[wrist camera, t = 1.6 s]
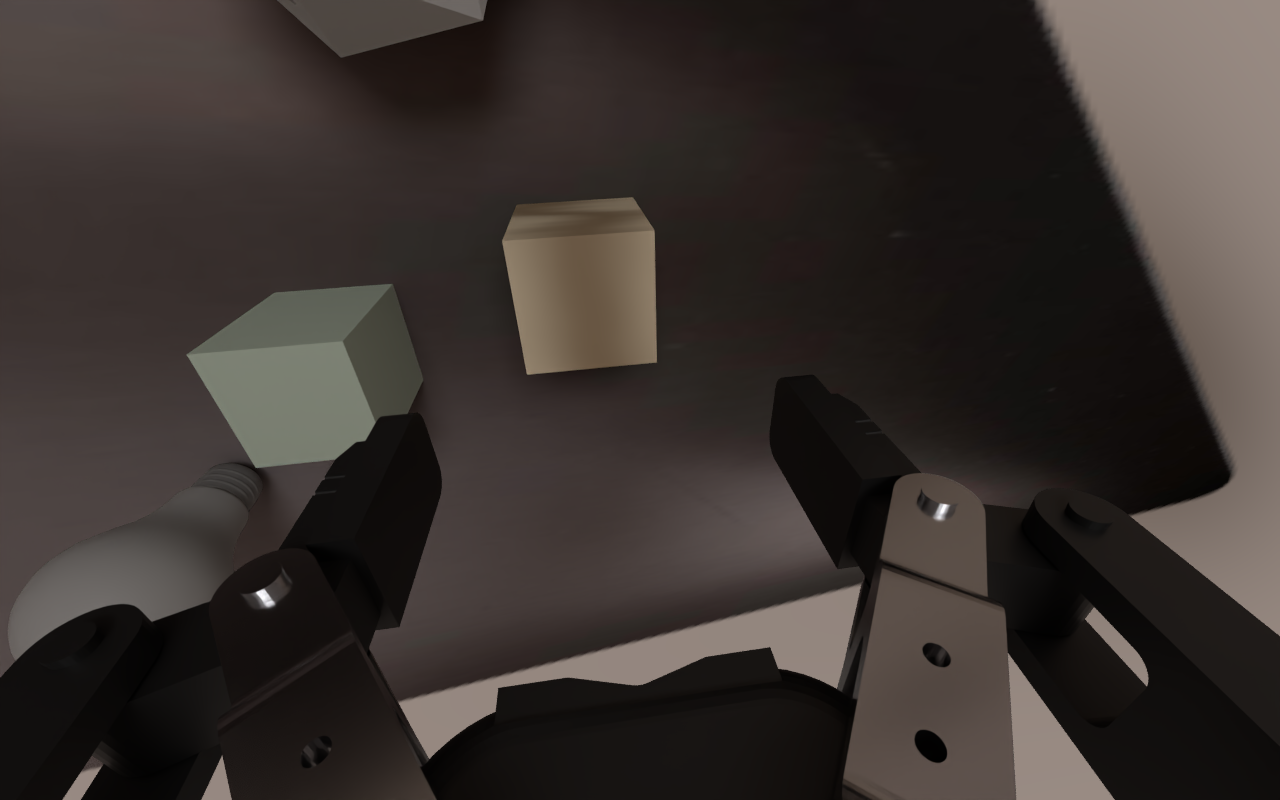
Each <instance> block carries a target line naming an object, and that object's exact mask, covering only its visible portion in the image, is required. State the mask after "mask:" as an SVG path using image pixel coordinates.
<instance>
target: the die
mask: <svg viewBox="0 0 1280 800" xmlns="http://www.w3.org/2000/svg"><path fill="white" fill-rule="evenodd" d="M277 1H278V2H279V3H281V4H282V5H283V6H284V7H285V8H286V9H287V10H288V11H289V12H291V13H292V14H293V15H294V16H295V17H296V18H297V19H298V20H300V21H301V22H302V23H303V24H304V25H305V26H306V27H307V28H308V29H310V30H311V31H312V32H313V33H314V34H315V35H316V36H317V37H318V38H320V39H321V40H322V41H323V42H324V43H325V44H326V45H327V46H329V47H330V48H331V49H332V50H333V51H334V52H335V53H336V54H337V55H339V56H340V57H341V58H342V57H346V56H350V55H354V54H357V53H361V52H365V51H369V50H373V49H376V48H380V47H384V46H388V45H392V44H395V43H399V42H403V41H407V40H411V39H415V38H418V37H422V36H426V35H430V34H434V33H437V32H441V31H445V30H449V29H453V28H456V27H460V26H464V25H468V24H472V23H476V22H479V21H483V18H484V13H485V9H486V4H487V0H277Z"/></svg>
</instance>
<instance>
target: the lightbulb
mask: <svg viewBox="0 0 1280 800" xmlns="http://www.w3.org/2000/svg"><path fill="white" fill-rule="evenodd" d="M262 490H263V483H262V481H261V478H260V477H259V475H258V474H257V473H256V472H255V471H253V470H252V469H250V468H248V467H246V466H243V465H240V464H234V463H225V464H219V465H216V466H214V467H212V468H211V469H210V470H209V471H207V472H206V473H205V474H204V475H203V476H202V477H201V478H199V479H198V481H197V482H196V483H194V484H193V485H192V486H191V487H190V488H187V489H184V490H182V491H180V492H179V493H177V494H176V495H175V496H174V497H172V498H171V499H170V500H169V501H168V502H167V503H166V504H165V505H163V506H162V507H161V508H159V509H158V510H156V511H155V512H153V513H152V514H150V515H148V516H146V517H143V518H141V519H139V520H137V521H135V522H132V523H129V524H126V525H123V526H119V527H117V528H114V529H111V530H109V531H106V532H104V533H101V534H99V535H96V536H93V537H91V538H88V539H86V540H83V541H81V542H78V543H77V544H75V545H73V546H72V547H70V548H68V549H67V550H65V551H64V552H62V553H60V554H59V555H57V556H56V557H54V558H53V559H51V560H50V561H48V562H47V563H46V564H45V565H44V566H43V567H42V568H41V569H39V570H38V571H37V572H36V573H35V574H34V575H33V577H32V578H31V579H30V581H29V582H28V583H27V585H26V586H25V587H24V589H23V590H22V592H21V593H20V594H19V596H18V597H17V600H16V602H15V604H14V606H13V608H12V610H11V613H10V618H9V625H8V640H9V645H10V650H11V654H12V656H13V657H14V659H15V660H17V659H18V658H19V657H20V656H21V655H22V654H23V653H24V652H25V651H26V650H27V649H29V648H30V647H31V646H32V645H33V644H34V643H36V642H37V641H38V640H40V639H41V638H42V637H44V636H45V635H46V634H48V633H49V632H51V631H52V630H54V629H56V628H57V627H59V626H61V625H62V624H64V623H66V622H68V621H69V620H71V619H74V618H76V617H78V616H80V615H82V614H84V613H87V612H89V611H92V610H95V609H98V608H101V607H105V606H109V605H115V604H130V605H134V606H136V607H137V608H139V609H140V610H141V611H142V612H143V613H144V614H145V615H146V616H147V617H148V618H149V619H150V620H151V621H155V620H158V619H161V618H164V617H166V616H169V615H172V614H175V613H178V612H181V611H183V610H186V609H189V608H192V607H195V606H198V605H200V604H203V603H206V602H209V601H211V599H212V597H213V595H214V593H215V592H216V590H217V589H218V588H219V586H220V585H221V584H222V583H223V582H224V581H225V580H226V579H227V578H228V577H229V576H230V575H231V574H233V573H234V564H233V555H234V549H235V545H236V543H237V540H238V538H239V535H240V534H241V532H242V530H243V529H244V527H245V525H246V524H247V521H248V517H249V513H248V512H249V510H250V509H251V508H252V507H253V505H254V503H255V502H256V501H257V499H258V497H259V495H260V493H261V492H262Z"/></svg>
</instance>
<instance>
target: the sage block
mask: <svg viewBox="0 0 1280 800" xmlns="http://www.w3.org/2000/svg"><path fill="white" fill-rule="evenodd" d="M187 356H188V358H189V359H190V361H191V362H192V364H193V366H194V367H195V369H196V371H197V372H198V374H199V376H200V377H201V379H202V381H203V382H204V384H205V385H206V387H207V389H208V390H209V392H210V394H211V395H212V397H213V399H214V400H215V402H216V403H217V405H218V407H219V408H220V410H221V412H222V413H223V415H224V417H225V418H226V420H227V422H228V423H229V425H230V426H231V428H232V430H233V431H234V433H235V435H236V436H237V438H238V440H239V441H240V443H241V445H242V446H243V448H244V449H245V451H246V453H247V454H248V456H249V458H250V459H251V461H252V463H253V464H254V466H255V467H256V468H260V467H270V466H279V465H288V464H298V463H307V462H316V461H325V460H335V459H336V458H337V457H339V456H340V455H341V454H342V453H343V452H345V451H346V450H347V449H348V448H349V447H351V446H352V445H353V444H354V443H356V442H360V441H365V440H366V439H367V437H368V435H369V433H370V432H371V430H372V428H373V427H374V425H375V423H376V421H377V420H378V418H380V417H381V416H389V415H399V414H407V413H408V411H409V409H410V407H411V405H412V403H413V401H414V399H415V397H416V395H417V392H418V390H419V388H420V386H421V384H422V382H423V377H422V373H421V370H420V367H419V364H418V361H417V358H416V355H415V352H414V349H413V345H412V342H411V339H410V336H409V333H408V330H407V327H406V324H405V321H404V317H403V314H402V311H401V308H400V305H399V302H398V299H397V296H396V292H395V289H394V286H393V284H384V285H371V286H358V287H345V288H331V289H318V290H305V291H292V292H279V293H273V294H272V295H271V296H269V297H268V298H266V299H265V300H264V301H262V302H261V303H259V304H258V305H256V306H255V307H254V308H252V309H251V310H249V311H248V312H247V313H245V314H244V315H242V316H241V317H239V318H238V319H237V320H235V321H234V322H232V323H231V324H229V325H228V326H227V327H225V328H224V329H222V330H221V331H220V332H218V333H217V334H215V335H214V336H212V337H211V338H210V339H208V340H207V341H205V342H204V343H203V344H201V345H200V346H198V347H197V348H195V349H194V350H193V351H191V352H190V353H188V354H187Z"/></svg>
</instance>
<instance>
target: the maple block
mask: <svg viewBox="0 0 1280 800" xmlns="http://www.w3.org/2000/svg"><path fill="white" fill-rule="evenodd" d="M502 242H503V248H504V253H505V258H506V264H507V269H508V275H509V280H510V285H511V291H512V296H513V302H514V307H515V312H516V318H517V323H518V328H519V334H520V339H521V345H522V350H523V355H524V361H525V366H526V371H527V375H529V374H539V373H550V372H560V371H571V370H581V369H592V368H602V367H613V366H623V365H634V364H644V363H655V362H657V347H656V291H655V234H654V229H653V227H652V226H651V224H650V223H649V221H648V220H647V218H646V217H645V215H644V214H643V212H642V211H641V209H640V208H639V206H638V205H637V203H636V202H635V200H634V198H633V197H632V198H616V199H600V200H584V201H568V202H552V203H536V204H520V205H516V208H515V210H514V213H513V215H512V218H511V220H510V223H509V225H508V228H507V230H506V233H505V235H504V238H503V240H502Z"/></svg>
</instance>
